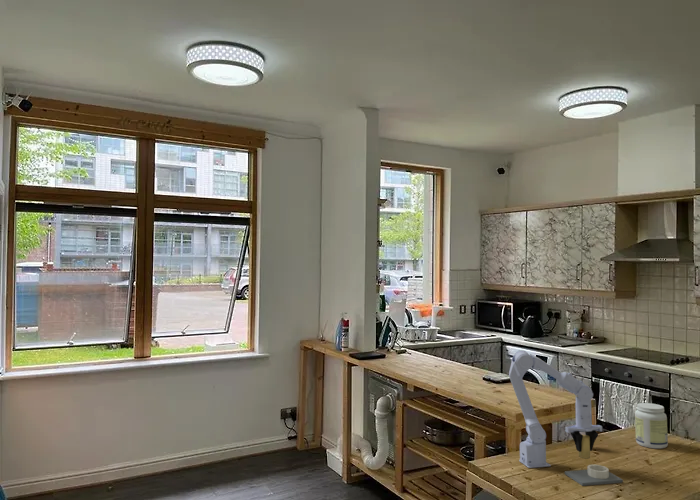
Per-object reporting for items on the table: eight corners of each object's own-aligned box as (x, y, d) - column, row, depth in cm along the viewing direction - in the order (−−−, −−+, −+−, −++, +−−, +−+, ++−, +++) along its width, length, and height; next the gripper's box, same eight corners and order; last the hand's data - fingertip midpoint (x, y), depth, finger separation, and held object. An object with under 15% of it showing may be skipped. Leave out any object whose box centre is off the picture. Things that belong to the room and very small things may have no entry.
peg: (582, 459, 200) (582, 438, 200) (576, 455, 204) (576, 434, 204) (592, 458, 200) (591, 437, 201) (585, 454, 204) (585, 434, 205)
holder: (582, 485, 184) (582, 475, 184) (564, 474, 194) (564, 464, 194) (623, 482, 186) (622, 472, 186) (603, 471, 197) (603, 461, 197)
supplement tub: (670, 444, 227) (669, 405, 228) (664, 451, 218) (663, 410, 219) (639, 438, 235) (638, 400, 236) (632, 445, 226) (631, 406, 227)
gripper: (572, 418, 197) (573, 455, 197) (607, 417, 200) (607, 452, 199) (562, 413, 204) (562, 448, 204) (595, 412, 207) (596, 446, 206)
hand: (584, 450), depth 202 cm, fingers closed on peg, 4 cm apart
